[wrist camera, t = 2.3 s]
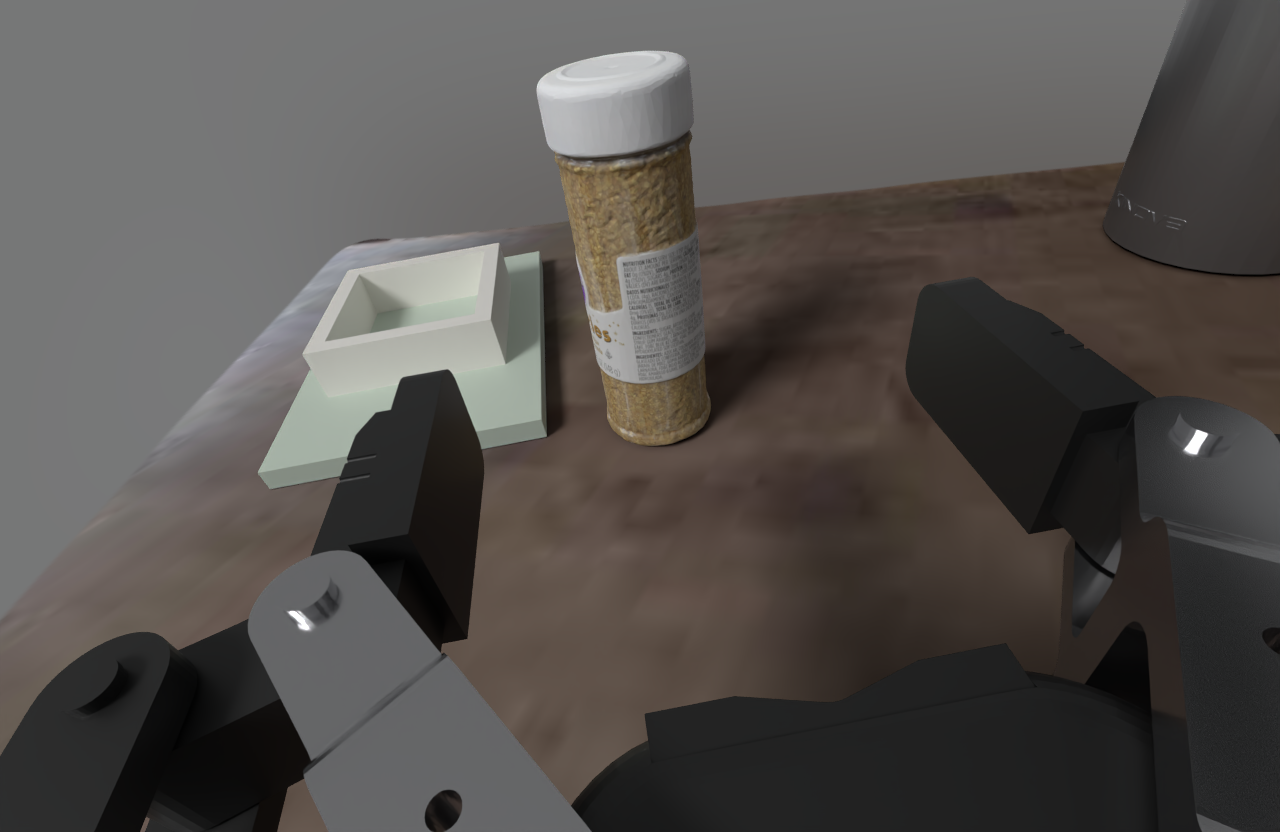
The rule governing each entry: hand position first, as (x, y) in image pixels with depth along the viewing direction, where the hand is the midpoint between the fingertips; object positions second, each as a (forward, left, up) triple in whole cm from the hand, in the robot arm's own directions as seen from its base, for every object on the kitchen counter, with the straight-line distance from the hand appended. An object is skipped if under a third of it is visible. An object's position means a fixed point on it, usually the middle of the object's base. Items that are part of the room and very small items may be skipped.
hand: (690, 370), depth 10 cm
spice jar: (0, -12, -11) cm, 16 cm away
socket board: (+11, -21, -11) cm, 25 cm away
